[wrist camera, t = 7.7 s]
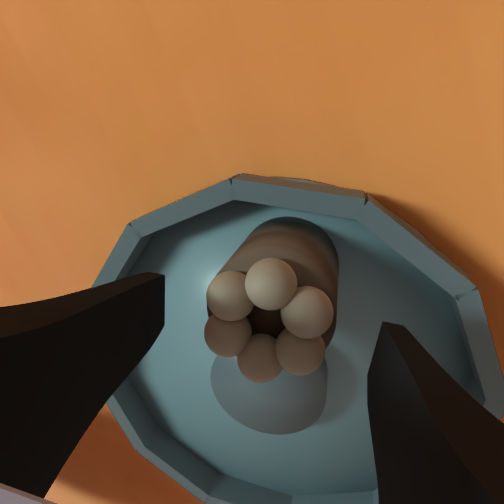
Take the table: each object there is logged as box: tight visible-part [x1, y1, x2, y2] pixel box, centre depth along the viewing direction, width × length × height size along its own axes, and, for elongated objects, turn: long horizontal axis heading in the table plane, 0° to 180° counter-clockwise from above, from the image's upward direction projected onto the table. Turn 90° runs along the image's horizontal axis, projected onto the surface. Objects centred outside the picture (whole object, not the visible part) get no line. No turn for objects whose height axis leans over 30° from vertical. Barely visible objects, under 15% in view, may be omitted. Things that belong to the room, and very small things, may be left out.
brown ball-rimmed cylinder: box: [204, 216, 339, 383], centre depth 13 cm, size 4×4×6 cm
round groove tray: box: [91, 173, 504, 504], centre depth 18 cm, size 19×19×2 cm
